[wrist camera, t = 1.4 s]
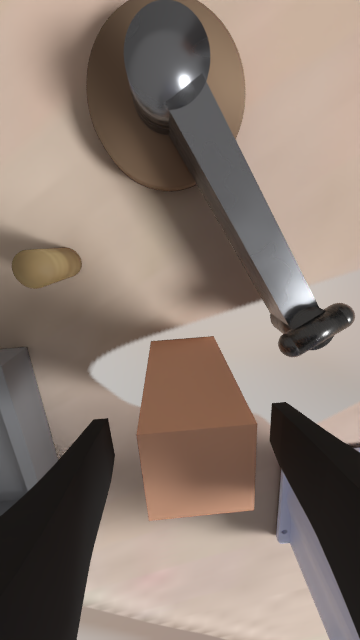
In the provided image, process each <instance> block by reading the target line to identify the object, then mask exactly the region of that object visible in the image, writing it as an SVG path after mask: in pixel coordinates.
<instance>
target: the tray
mask: <svg viewBox="0 0 360 640" xmlns="http://www.w3.org/2000/svg"><path fill="white" fill-rule="evenodd" d="M57 461H58V458H57V454H56V450H55V447H54V443H53V440H52V436H51V432H50V429H49V425H48V421H47V418H46V414H45V411H44V407H43V403H42V400H41V396H40V393H39V389H38V385H37V382H36V378H35V375H34V371H33V367H32V364H31V360H30V356H29V353H28V349H27V347H20V348H8V349H0V516H1V515H2V514H4V513H5V512H6V511H7V510H8V509H9V508H10V507H12V506H13V505H14V504H15V503H16V502H17V501H18V500H19V499H20V498H21V497H23V496H24V495H25V494H26V493H27V492H28V491H29V490H30V489H31V488H32V487H33V486H34V485H35V484H36V483H37V482H38V481H39V480H40V479H41V478H42V477H43V476H44V475H45V474H46V473H47V472H48V471H49V470H50V469H51V468H52V467H53V466H54V465H55V463H56V462H57Z"/></svg>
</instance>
